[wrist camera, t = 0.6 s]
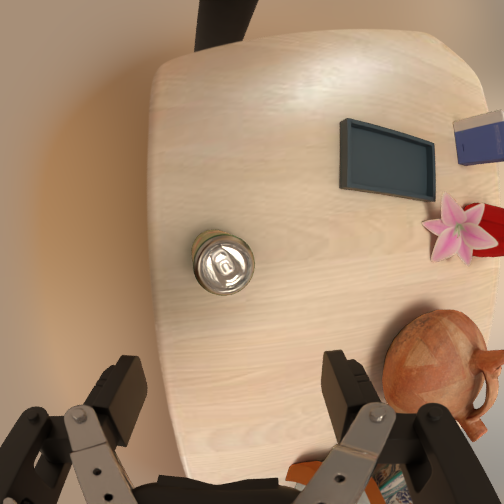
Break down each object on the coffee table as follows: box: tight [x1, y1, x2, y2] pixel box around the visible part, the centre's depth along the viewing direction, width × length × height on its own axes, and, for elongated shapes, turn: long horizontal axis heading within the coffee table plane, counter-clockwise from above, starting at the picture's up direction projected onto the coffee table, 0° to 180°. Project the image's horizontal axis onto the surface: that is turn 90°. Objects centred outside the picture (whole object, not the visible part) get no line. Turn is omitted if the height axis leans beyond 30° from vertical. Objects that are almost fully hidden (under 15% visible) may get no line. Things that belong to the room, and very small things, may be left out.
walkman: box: [453, 110, 504, 166], centre depth 36 cm, size 8×3×12 cm, turn 2°
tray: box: [340, 118, 436, 202], centre depth 38 cm, size 16×9×2 cm, turn 87°
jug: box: [382, 310, 504, 442], centre depth 34 cm, size 18×18×20 cm
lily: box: [422, 191, 498, 266], centre depth 39 cm, size 12×12×10 cm
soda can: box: [192, 230, 255, 296], centre depth 30 cm, size 5×5×12 cm
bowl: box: [372, 464, 413, 504], centre depth 43 cm, size 25×25×10 cm
